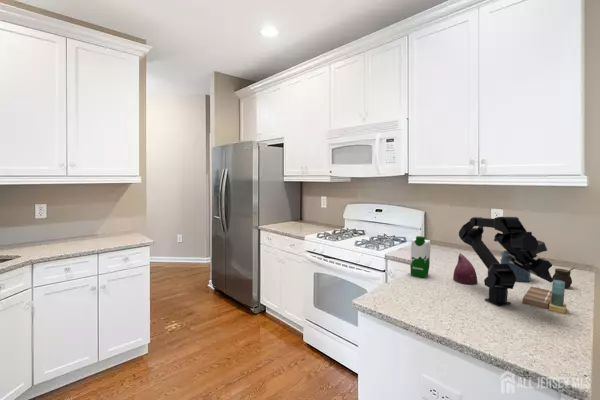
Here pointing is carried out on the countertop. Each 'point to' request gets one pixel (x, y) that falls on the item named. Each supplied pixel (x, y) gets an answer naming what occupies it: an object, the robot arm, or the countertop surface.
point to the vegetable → (464, 271)
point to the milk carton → (420, 257)
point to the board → (538, 297)
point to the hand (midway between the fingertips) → (543, 277)
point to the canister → (515, 268)
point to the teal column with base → (558, 297)
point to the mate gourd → (563, 276)
